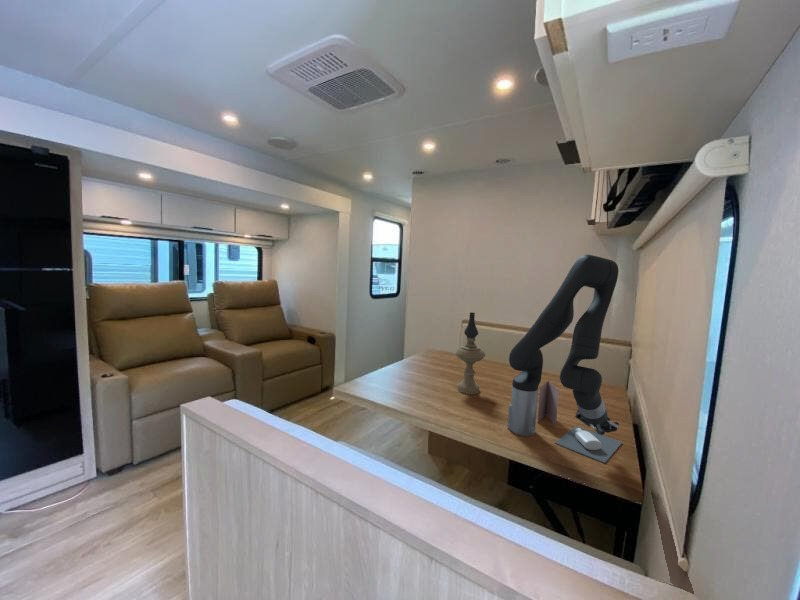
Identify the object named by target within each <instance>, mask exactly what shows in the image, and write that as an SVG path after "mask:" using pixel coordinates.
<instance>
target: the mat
mask: <svg viewBox="0 0 800 600" xmlns="http://www.w3.org/2000/svg"><path fill="white" fill-rule="evenodd" d="M576 428H580V429H582V430H583V431H587V432H590V433H591V434H592V435H593V436H595V437H596V438H597V439H598V440H599V441H600V442H601V443H602V445H601V449H598V450H589V449H587V448H585V447H584V446H583V445H582V444H581V443H580V442H579V441H578V440H577V439H576V437H575V433H576V432H575V430H576ZM554 444H556V445H557V446H559V447H563V448H565V449H568V450H570V451H572V452H575V453H577V454H580V455H582V456H585V457H587V458H590V459H593V460H595V461H597V462H599V463H602V464H606V463H607V462H608V461H609V460H610V459H611V457H612V456H613V455H614V454H615V452H616V451H618V449H619V448H620V447H621V445H622V444H623V441H621V440H618V439H615V438H612V437H610V436H606V435H605V434H603V435H600V434H597V432H596V431H591V430H589V429H586V428H583V427H580V426H578V425H575V426H573V428H571V429H570V430H569V431H567V432H566V433H565V434H564V435H563V436H561V437H560V438H558V440H555V442H554ZM619 446H620V447H619ZM618 447H619V448H618Z"/></svg>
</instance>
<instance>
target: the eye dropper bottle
mask: <svg viewBox="0 0 800 600" xmlns="http://www.w3.org/2000/svg"><path fill="white" fill-rule="evenodd" d="M575 432H576V433H575V437H576V439H577V440H578V441H579V442H580V443H581V444H582V445H583V446H584V447H585V448H587V449H589V450H598V449H601V445H602V443H601V442H600V441H599V440H598V439H597V438H596V437H595V436H593V435H592V434H591V433H590V432H587V431H583V430H582V429H580V428H576V430H575Z"/></svg>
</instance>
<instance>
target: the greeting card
mask: <svg viewBox="0 0 800 600" xmlns="http://www.w3.org/2000/svg"><path fill="white" fill-rule="evenodd" d="M559 392H560V391H559V389H558V388H557V387H556V386H555V385H553V384H552V382H550V380H547V381H546V382H545V383H544V384H542V385H541V386H540V387H539V394H538V407H537V408H538V409H537V424H538V423H539V422H540V421H541V420H542V419H543V418H544V417H545V415H546V417H547V418H548V419H549V420H550V421H551V423H553V425H554V426H555V427H557V421H558V420H557V418H558V405H559V395H560V394H559Z"/></svg>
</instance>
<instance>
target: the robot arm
mask: <svg viewBox="0 0 800 600" xmlns="http://www.w3.org/2000/svg"><path fill="white" fill-rule="evenodd" d="M619 273H620V270H619V265H618V264H617V262H615V261H614V260H612V259H610V258H605V257H601V256H597V255H592V254H584V255H581V256H579V257H578V258H577V259H576V261H575V262H574V263H573V265H572V266H571V268H570V269H569V270H568V273H566V276H565V278H564V280H563V282H562V283H561V285H560V287H559V288H558V290H557V291H556V292H555V294H554V296H553V297H552V298H551V300H550V301H549V303H548V304H547V305H546V306H545V307H544V309H543V310H542V311H541V313H540V314H539V316H538V317H537V319H536V320H535V322H534V323H533V324H532V325H531V327H530V328H529V329H528V331H527V332H526V333H525V335H524V336H523V337H522V338H521V339H520V340H519V341H518V342H517V343H516V344H515V345H514V346H513V347H512V349H511V351H510V352H509V356H508V362H509V365H510V367H511V368H512V369H513V370H514V371H519V372H520V373H519V374H518V375H516V376H515V377H513V379H512V386H511V400H510V402H511V403H509V404H508V414H507V429H509V430H510V431H511V433H514V434H516V435H519V436H524V437H530V436H534V435H535V433H536V421H537V411H538V409H537V408H538V407H537V406H538V396H539V394H538V392H539V385H540V384H541V382H542V374H543V369H544V368H543V366H544V356H543V352H542V350H541V348H543V347H545V346H547V345H548V344H550V343H551V342H553V341H555V340H557V339H558V338H559V337H560V336H562V334H564V333H565V331H566V330H567V329H568V328H569V327H570V325H571V324H572V323H573V320H574V317H575V316H574V314H575V307H574V299H575V298H576V296H577V294H578V293H579V291H580V290H581V289H582V288H584V287H586V288H590V289H593V291H594V292H593V298H592V301H591V303H590V305H589V306H588V307H587V309H586V310H585V311H584V313H583V314H582V315H581V317H580V318H579V319H578V321H577V322H576V324H575V326H574V328H573V334H572V340H571V345H570V346H571V347H570V350H569V353H568V356H567V359H566V360H565V362H564V363H563V364H564V365H562V368H561V371H560V374H559V381H560V382H561V385H562V386H563V387H564V388H566V389H569V390H572V395H573V398H574V399H575V402H576V406H577V411H576V413H575V416H574V417H575V418H576V419H577V420H579V421H580V422H581V423H583V424H584V425H586V426H587V427H592V429H593V430H594V432H595V433H597V434H600V435H605V434H606V433H612V432H617V431H618V428H619V425H620V423H619V422H618V421H612V420H611V418H610V417H609V416H608V411H607V409H606V405H605V402H604V400H603V398H602V396H601V392H600V389H601V386H602V382H603V376H602V374H601V372H599V371H598V370H596V369H595V368H592V367H585V366H581V365H579V363H580V362H581V361H583V360H596V359H597V358H598V356H599V353H600V347H601V345H600V344H601V337H602V331H603V328H604V327H603V326H604V322H605V319H606V316H607V312H608V309H609V306H610V303H611V300H612V297H613V294H614V292H615V288H616V286H617V282H618V278H619Z"/></svg>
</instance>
